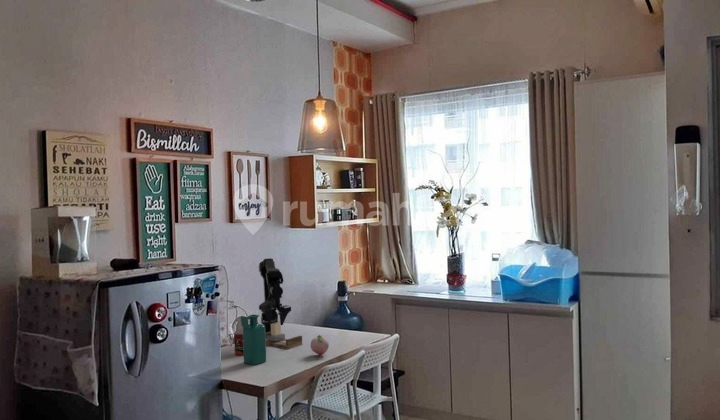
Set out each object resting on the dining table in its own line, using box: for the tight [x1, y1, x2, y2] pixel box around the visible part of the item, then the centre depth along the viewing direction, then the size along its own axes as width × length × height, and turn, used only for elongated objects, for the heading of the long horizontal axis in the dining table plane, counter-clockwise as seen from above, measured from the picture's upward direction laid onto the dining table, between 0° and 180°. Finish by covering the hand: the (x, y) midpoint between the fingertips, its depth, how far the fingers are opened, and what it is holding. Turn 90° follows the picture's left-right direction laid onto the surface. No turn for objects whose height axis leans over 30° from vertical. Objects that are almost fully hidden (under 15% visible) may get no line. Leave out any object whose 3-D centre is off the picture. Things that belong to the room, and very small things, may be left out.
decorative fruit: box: [310, 334, 330, 357], centre depth 282 cm, size 9×8×10 cm
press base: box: [265, 332, 303, 350], centre depth 307 cm, size 22×10×4 cm, turn 52°
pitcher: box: [240, 314, 267, 366], centre depth 273 cm, size 10×8×22 cm
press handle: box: [267, 322, 286, 342], centre depth 309 cm, size 6×7×8 cm
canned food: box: [233, 329, 244, 357], centre depth 290 cm, size 8×8×11 cm
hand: (275, 324), depth 309 cm, fingers open, 9 cm apart
